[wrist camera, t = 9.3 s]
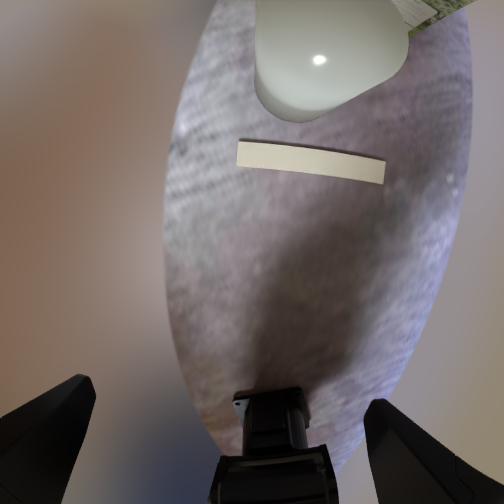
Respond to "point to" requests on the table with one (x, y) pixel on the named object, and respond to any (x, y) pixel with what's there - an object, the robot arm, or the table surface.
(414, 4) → the syrup box
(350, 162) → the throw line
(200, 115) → the table surface
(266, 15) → the grey-green rounded cylinder
